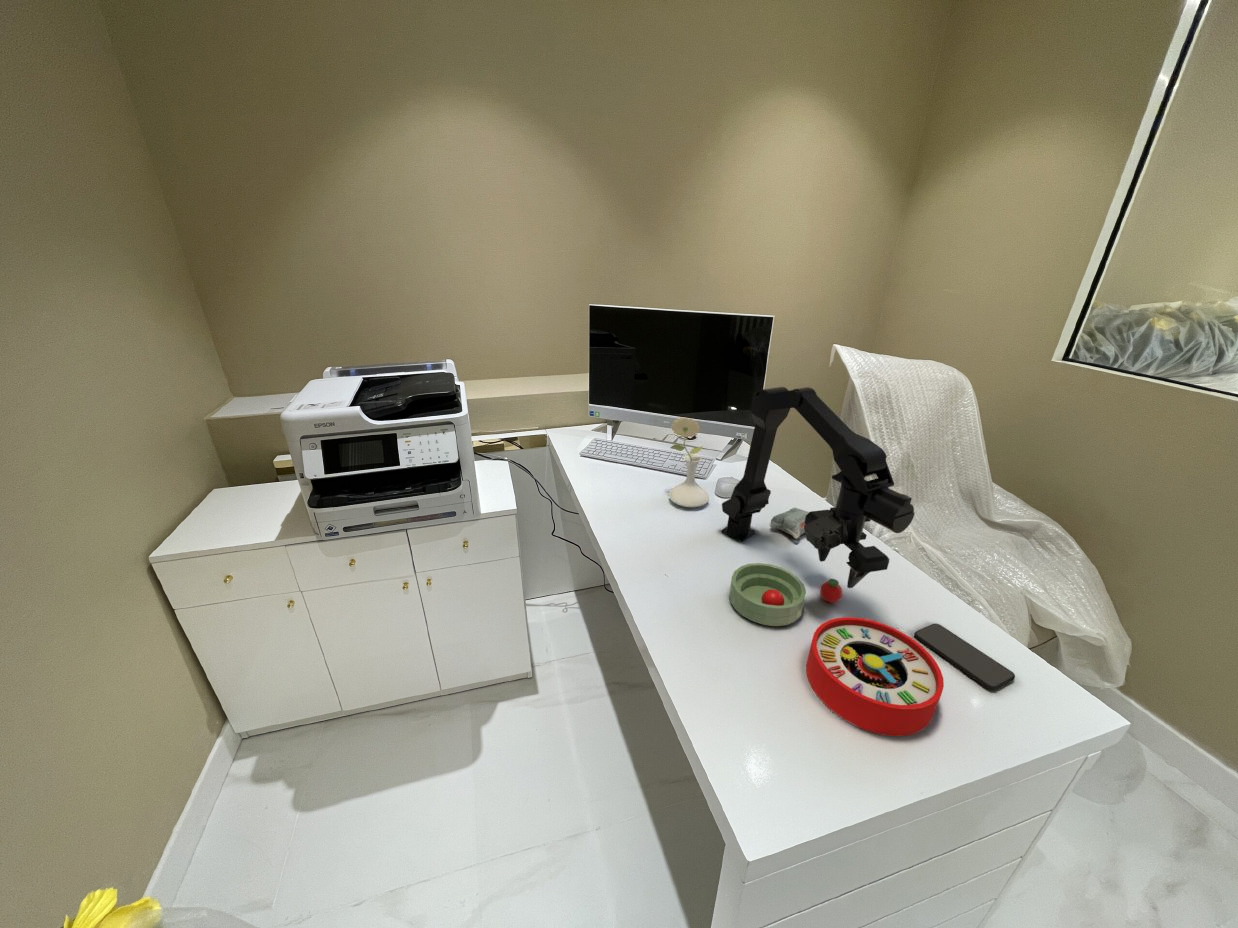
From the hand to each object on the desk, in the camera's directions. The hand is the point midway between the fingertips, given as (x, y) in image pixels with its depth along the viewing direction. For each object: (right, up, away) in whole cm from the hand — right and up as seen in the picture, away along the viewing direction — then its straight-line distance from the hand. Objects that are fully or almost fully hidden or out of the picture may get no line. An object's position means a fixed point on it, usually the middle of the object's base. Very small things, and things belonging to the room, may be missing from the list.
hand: (835, 573), depth 104 cm
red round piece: (-14, -4, 0) cm, 15 cm away
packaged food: (+2, +5, +28) cm, 29 cm away
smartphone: (+18, -13, -11) cm, 25 cm away
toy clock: (-2, -15, -17) cm, 23 cm away
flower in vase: (-25, +12, +42) cm, 50 cm away
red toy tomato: (0, -6, +3) cm, 7 cm away
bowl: (-14, -6, +1) cm, 16 cm away
